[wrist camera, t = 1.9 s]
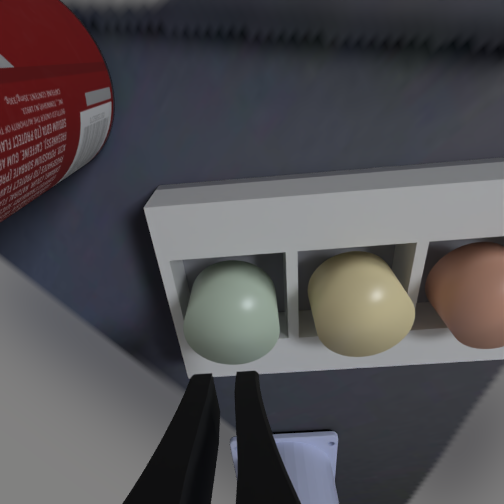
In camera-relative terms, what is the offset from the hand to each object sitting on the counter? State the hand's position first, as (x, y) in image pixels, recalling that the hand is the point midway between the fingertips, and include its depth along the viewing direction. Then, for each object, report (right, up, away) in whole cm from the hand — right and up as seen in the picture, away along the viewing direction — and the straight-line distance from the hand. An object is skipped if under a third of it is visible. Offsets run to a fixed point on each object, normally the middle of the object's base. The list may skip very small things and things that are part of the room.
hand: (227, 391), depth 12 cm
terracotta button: (+11, +4, +4) cm, 12 cm away
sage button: (0, +3, +5) cm, 5 cm away
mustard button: (+5, +3, +4) cm, 8 cm away
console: (+5, +4, +6) cm, 9 cm away
